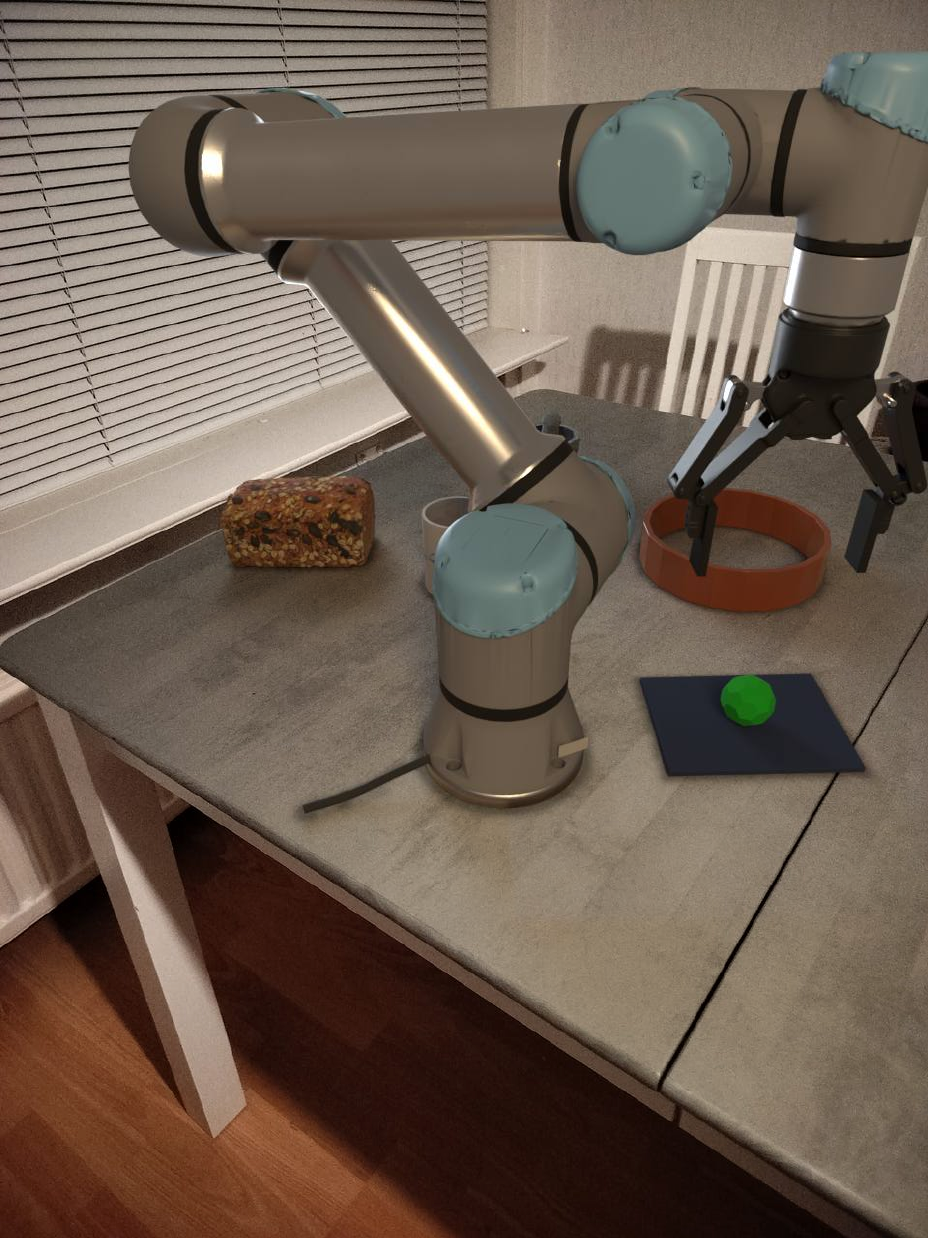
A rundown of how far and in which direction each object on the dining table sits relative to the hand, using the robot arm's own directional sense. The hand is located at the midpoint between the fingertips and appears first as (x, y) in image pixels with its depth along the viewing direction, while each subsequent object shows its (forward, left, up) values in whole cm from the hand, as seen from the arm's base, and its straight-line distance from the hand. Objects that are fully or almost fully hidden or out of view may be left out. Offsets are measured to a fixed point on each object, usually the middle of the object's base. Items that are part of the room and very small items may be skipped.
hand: (776, 567), depth 71 cm
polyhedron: (0, 0, -18) cm, 18 cm away
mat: (0, 0, -18) cm, 18 cm away
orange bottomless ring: (+7, +31, -18) cm, 37 cm away
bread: (-49, +37, -18) cm, 64 cm away
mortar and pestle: (-14, +59, -18) cm, 64 cm away
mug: (-28, +26, -18) cm, 42 cm away
